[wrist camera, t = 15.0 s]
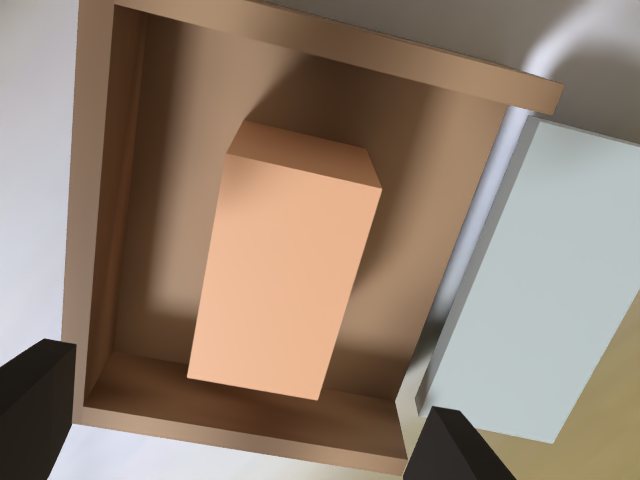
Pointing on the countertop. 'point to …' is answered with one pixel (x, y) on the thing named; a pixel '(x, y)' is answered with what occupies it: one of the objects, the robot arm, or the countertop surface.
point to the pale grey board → (542, 284)
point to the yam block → (282, 259)
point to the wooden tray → (202, 196)
